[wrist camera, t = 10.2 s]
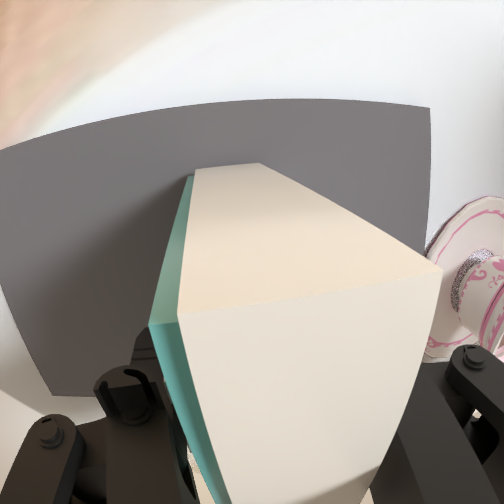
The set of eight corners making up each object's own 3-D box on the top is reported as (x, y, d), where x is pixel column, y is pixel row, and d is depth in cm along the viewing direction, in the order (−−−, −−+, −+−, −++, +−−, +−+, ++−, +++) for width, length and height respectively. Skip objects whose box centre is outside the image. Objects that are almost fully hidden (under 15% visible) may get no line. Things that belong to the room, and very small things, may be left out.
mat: (-22, 159, 10) (-29, 161, 10) (422, 108, 13) (429, 108, 12) (55, 389, 15) (52, 395, 15) (400, 343, 18) (405, 349, 17)
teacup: (416, 379, 20) (458, 434, 14) (389, 250, 16) (465, 307, 10) (517, 298, 20) (563, 333, 14) (514, 168, 15) (583, 190, 9)
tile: (187, 170, 11) (138, 317, 2) (258, 163, 12) (443, 270, 3) (216, 360, 15) (244, 560, 6) (270, 352, 15) (335, 542, 6)
